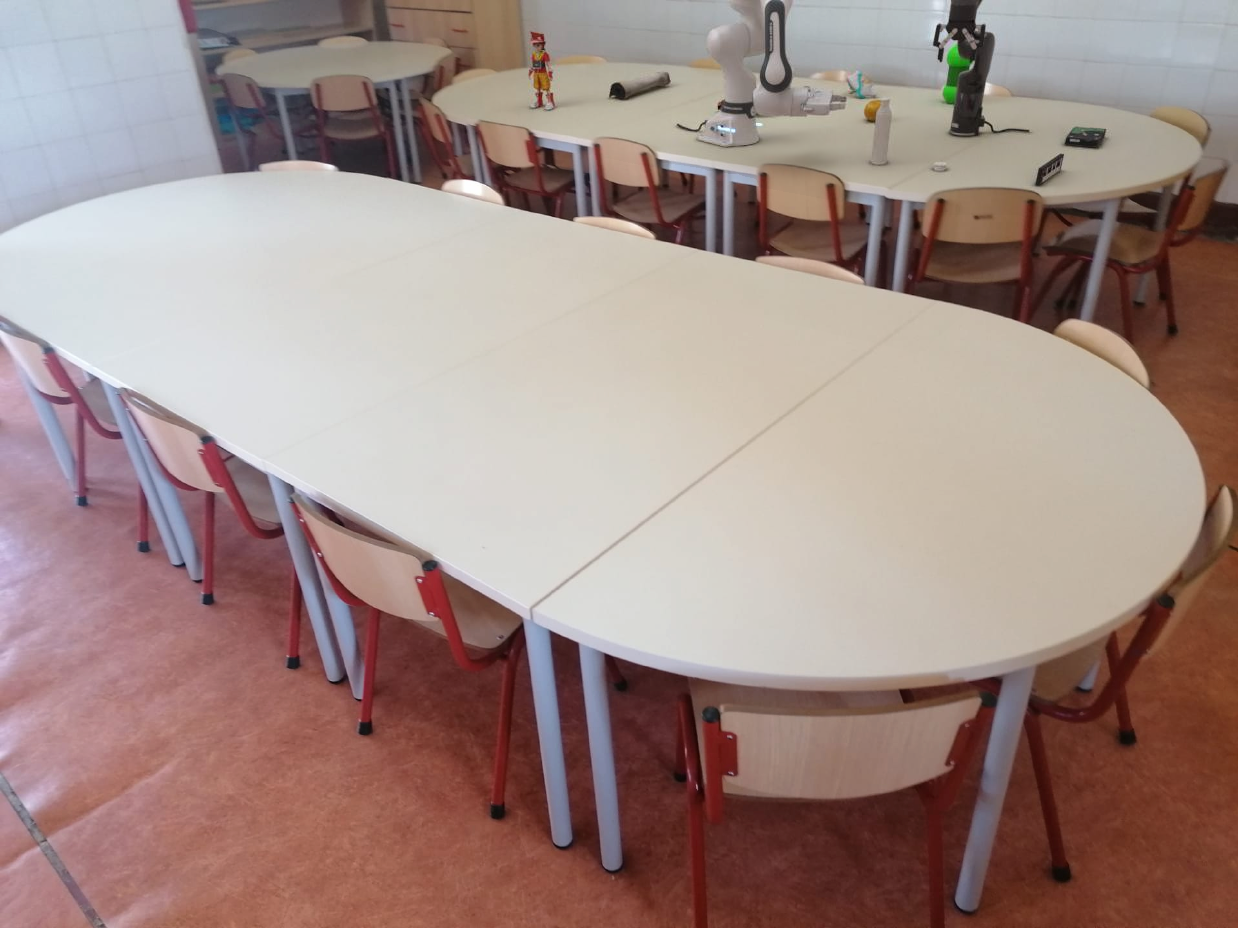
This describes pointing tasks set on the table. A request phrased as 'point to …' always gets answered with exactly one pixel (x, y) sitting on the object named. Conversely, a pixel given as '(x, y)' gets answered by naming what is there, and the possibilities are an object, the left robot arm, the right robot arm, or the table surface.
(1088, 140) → the disk drive
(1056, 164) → the midi keyboard
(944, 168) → the cap
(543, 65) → the toy
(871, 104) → the fruit
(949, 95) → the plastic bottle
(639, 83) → the rolled mat
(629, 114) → the table surface
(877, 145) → the bottle
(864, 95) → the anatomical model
